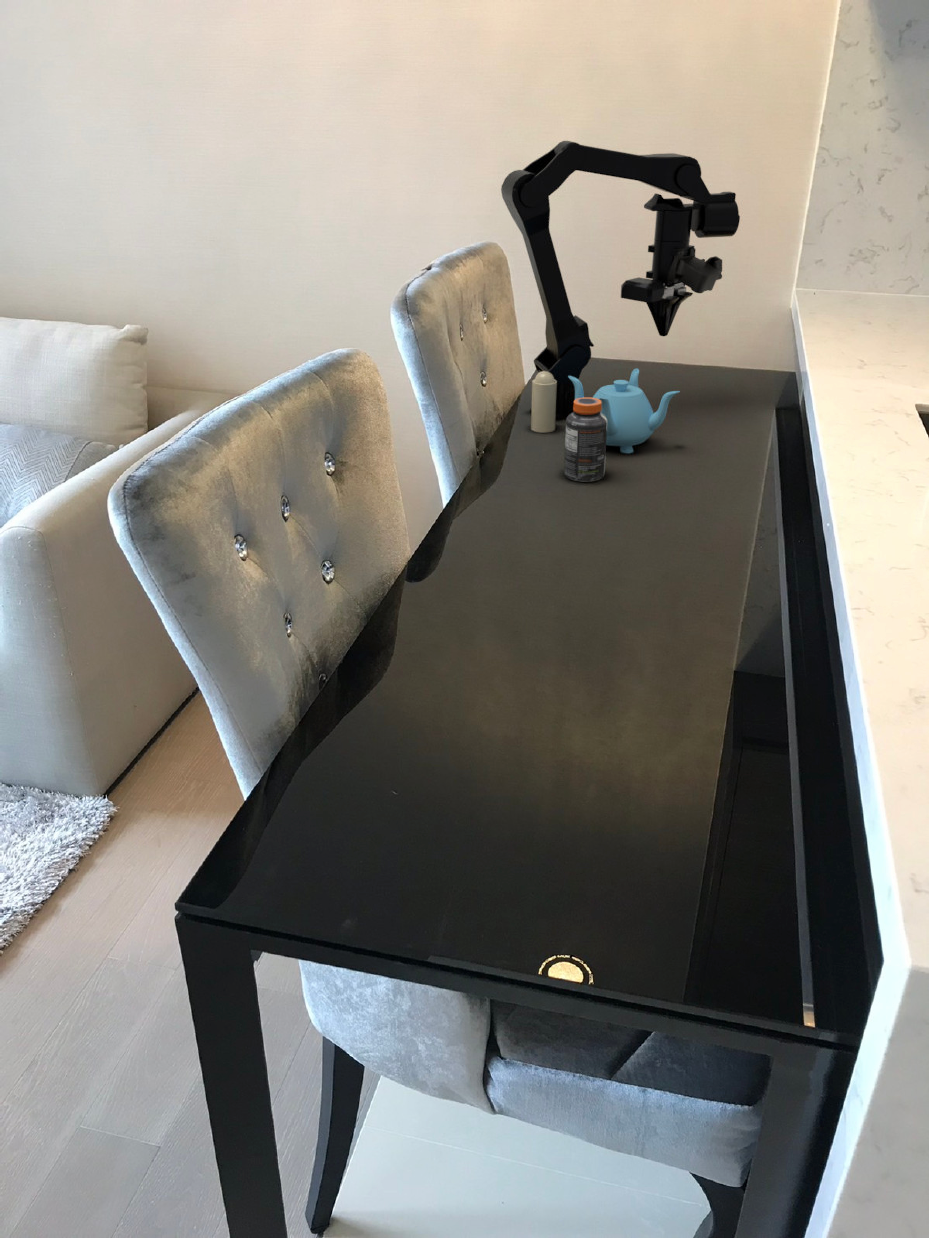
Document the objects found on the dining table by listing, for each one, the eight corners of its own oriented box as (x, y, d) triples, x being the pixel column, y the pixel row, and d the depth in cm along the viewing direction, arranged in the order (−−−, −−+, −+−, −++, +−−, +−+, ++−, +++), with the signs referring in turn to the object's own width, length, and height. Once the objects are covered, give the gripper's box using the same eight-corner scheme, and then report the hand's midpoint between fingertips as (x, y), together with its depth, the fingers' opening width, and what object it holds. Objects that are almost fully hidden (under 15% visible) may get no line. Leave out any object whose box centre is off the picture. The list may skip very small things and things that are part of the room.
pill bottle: (608, 470, 149) (613, 396, 143) (599, 485, 144) (604, 408, 138) (569, 466, 150) (572, 392, 145) (559, 480, 145) (562, 404, 140)
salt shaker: (525, 429, 165) (527, 371, 161) (541, 423, 168) (543, 366, 163) (544, 434, 163) (546, 376, 158) (560, 428, 165) (562, 371, 161)
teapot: (564, 435, 163) (566, 374, 158) (637, 426, 166) (642, 366, 161) (597, 462, 152) (600, 397, 147) (675, 452, 155) (681, 387, 150)
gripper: (680, 252, 152) (671, 354, 160) (746, 237, 164) (734, 334, 171) (621, 244, 159) (615, 342, 167) (688, 230, 170) (679, 323, 178)
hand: (663, 335), depth 171 cm, fingers closed
